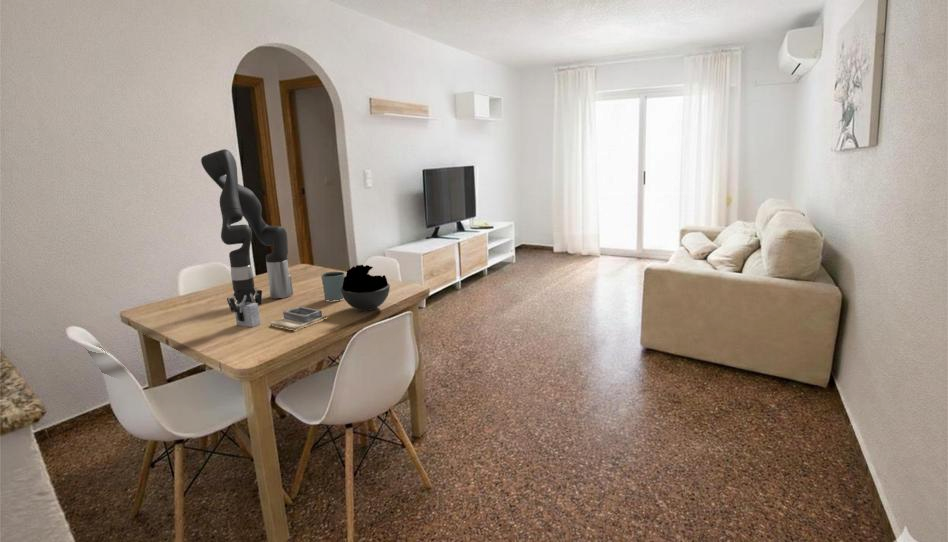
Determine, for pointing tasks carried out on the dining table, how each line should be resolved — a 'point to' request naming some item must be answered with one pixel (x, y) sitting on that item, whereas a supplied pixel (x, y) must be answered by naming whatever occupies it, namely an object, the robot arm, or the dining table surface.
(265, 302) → the dining table surface
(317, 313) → the jig
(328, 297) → the teal cup
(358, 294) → the coal bowl
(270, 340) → the dining table surface
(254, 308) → the medicine box
